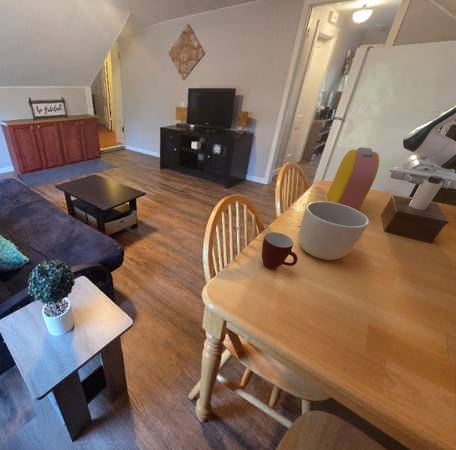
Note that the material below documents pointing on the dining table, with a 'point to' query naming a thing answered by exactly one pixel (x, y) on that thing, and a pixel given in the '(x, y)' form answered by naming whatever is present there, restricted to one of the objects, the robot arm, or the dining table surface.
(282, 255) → the mug
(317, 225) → the planter
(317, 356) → the dining table surface
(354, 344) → the dining table surface
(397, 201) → the box lid
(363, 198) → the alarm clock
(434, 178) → the pepper mill
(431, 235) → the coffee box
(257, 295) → the dining table surface
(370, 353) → the dining table surface
